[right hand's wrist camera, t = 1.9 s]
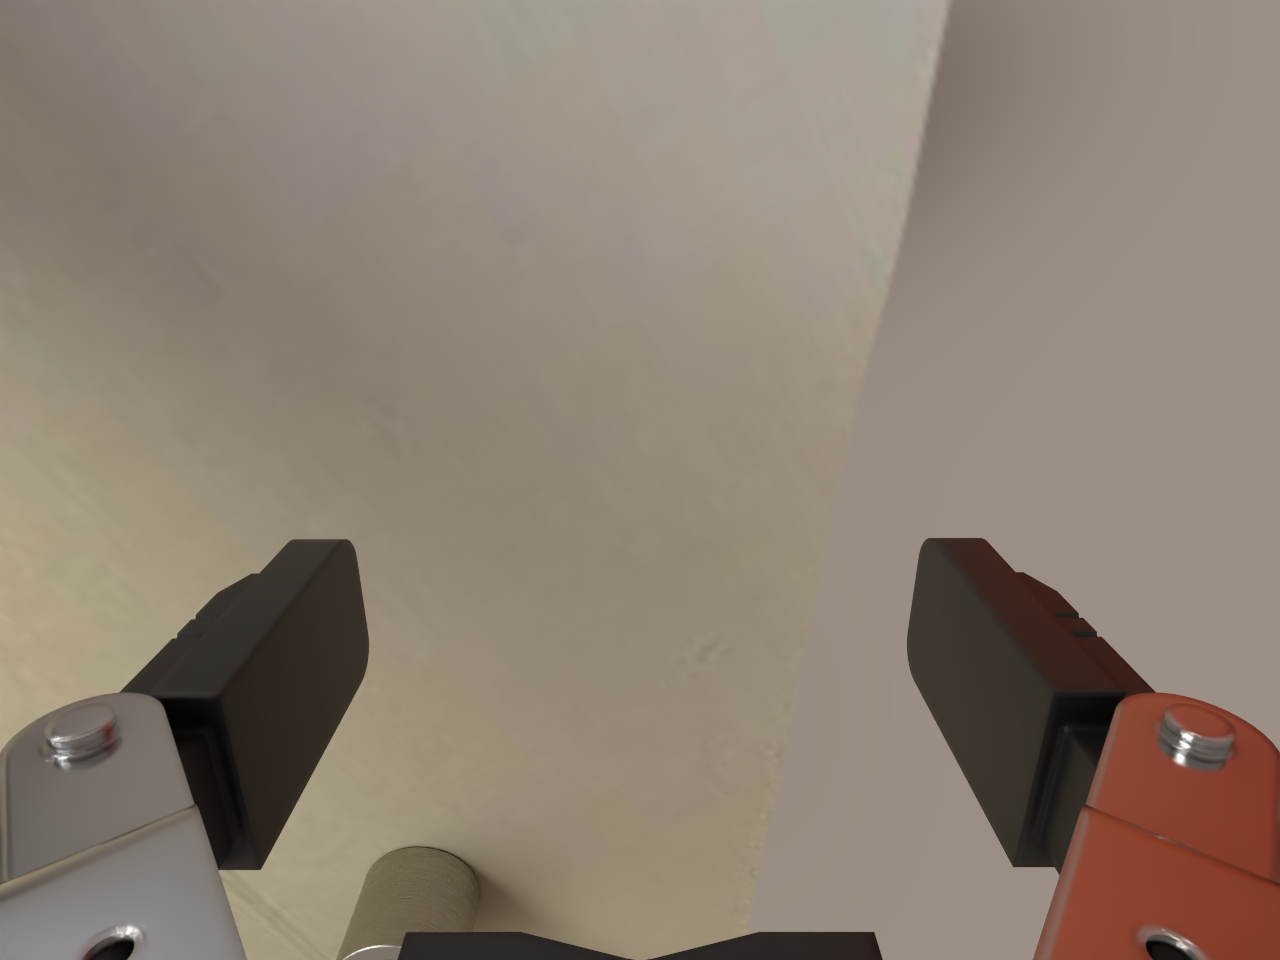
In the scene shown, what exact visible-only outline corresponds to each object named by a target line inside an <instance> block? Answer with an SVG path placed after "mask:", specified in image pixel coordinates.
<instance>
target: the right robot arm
mask: <svg viewBox="0 0 1280 960" xmlns="http://www.w3.org/2000/svg"><path fill="white" fill-rule="evenodd" d="M177 635H178V636H177V639H172V640H171V641H170V642H169V643H168V644H167V645H166V646H165V647H164V648H163V649H162V650H161V651H160V652H159V653H158V654H157V655H156V656H155V657H154V658H153V659H152V660H151V661H150V662H149V663H148V664H147V665H146V666H145V667H144V668H143V669H142V670H141V671H140V672H139V673H138V674H137V675H136V676H135V677H134V678H133V679H132V680H131V681H130V682H129V683H128V684H127V685H126V686H125V687H124V688H123V689H122V690H121V691H120V692H119V693H113V694H105V695H100V696H95V697H91V698H87V699H84V700H80V701H77V702H74V703H71V704H69V705H66V706H63V707H61V708H59V709H57V710H54V711H52V712H50V713H48V714H46V715H44V716H42V717H41V718H39V719H37V720H35V721H34V722H32V723H31V724H29V725H28V726H26V727H25V728H24V729H22V730H21V731H20V732H18V733H17V734H16V735H15V736H14V737H13V738H12V739H11V740H10V741H9V742H8V743H7V744H6V745H5V747H4V748H3V749H2V751H1V753H0V960H247V958H246V955H245V952H244V949H243V945H242V942H241V939H240V936H239V933H238V930H237V927H236V924H235V920H234V917H233V914H232V911H231V908H230V905H229V902H228V899H227V895H226V892H225V889H224V886H223V883H222V880H221V877H220V874H219V870H261V868H262V866H263V865H264V863H265V861H266V859H267V857H268V855H269V853H270V852H271V850H272V848H273V846H274V844H275V842H276V840H277V839H278V837H279V835H280V833H281V831H282V829H283V827H284V826H285V824H286V822H287V820H288V818H289V816H290V814H291V813H292V811H293V809H294V807H295V805H296V803H297V801H298V800H299V798H300V796H301V794H302V792H303V790H304V788H305V786H306V785H307V783H308V781H309V779H310V777H311V775H312V773H313V772H314V770H315V768H316V766H317V764H318V762H319V760H320V759H321V757H322V755H323V753H324V751H325V749H326V747H327V746H328V744H329V742H330V740H331V738H332V736H333V734H334V733H335V731H336V729H337V727H338V725H339V723H340V721H341V720H342V718H343V716H344V714H345V712H346V710H347V708H348V707H349V705H350V703H351V701H352V699H353V697H354V695H355V694H356V692H357V690H358V688H359V686H360V684H361V682H362V680H363V678H364V675H365V672H366V668H367V662H368V654H369V637H368V630H367V623H366V616H365V609H364V603H363V596H362V589H361V582H360V576H359V569H358V562H357V556H356V552H355V549H354V547H353V545H352V543H351V542H350V541H349V540H347V539H293V540H291V541H290V542H288V543H287V544H286V545H285V547H284V548H283V549H282V550H281V551H280V552H279V553H278V554H277V555H276V556H275V557H274V558H273V559H272V560H271V562H270V563H269V564H268V565H267V566H266V567H265V568H264V569H263V570H262V571H261V572H260V573H259V574H250V575H249V576H247V577H245V578H243V579H241V580H240V581H238V582H236V583H234V584H232V585H231V586H229V587H227V588H225V589H224V590H222V591H220V592H218V593H217V594H216V595H215V596H214V597H213V598H212V599H211V600H210V601H209V602H208V603H207V604H206V605H205V606H204V607H203V608H202V609H201V610H200V611H199V612H198V613H197V614H196V619H195V620H190V621H189V622H188V623H187V624H186V625H185V626H184V628H183V629H182V630H181V631H180V632H179V633H178V634H177ZM907 653H908V661H909V666H910V670H911V674H912V677H913V679H914V681H915V683H916V685H917V687H918V689H919V691H920V693H921V694H922V696H923V698H924V700H925V702H926V704H927V706H928V707H929V709H930V711H931V713H932V715H933V717H934V719H935V721H936V722H937V725H938V726H939V728H940V730H941V732H942V734H943V736H944V738H945V739H946V741H947V743H948V745H949V747H950V749H951V751H952V753H953V755H954V756H955V758H956V760H957V762H958V764H959V766H960V768H961V770H962V772H963V773H964V775H965V777H966V779H967V781H968V783H969V785H970V787H971V788H972V790H973V792H974V794H975V796H976V798H977V800H978V802H979V804H980V805H981V807H982V809H983V811H984V813H985V815H986V817H987V819H988V820H989V822H990V824H991V826H992V828H993V830H994V832H995V834H996V836H997V837H998V839H999V841H1000V843H1001V845H1002V847H1003V849H1004V851H1005V852H1006V854H1007V856H1008V858H1009V860H1010V862H1011V864H1012V866H1013V867H1055V868H1056V870H1057V872H1058V873H1059V875H1060V877H1059V880H1058V883H1057V886H1056V889H1055V892H1054V896H1053V899H1052V902H1051V905H1050V908H1049V911H1048V914H1047V917H1046V920H1045V924H1044V927H1043V930H1042V933H1041V936H1040V939H1039V942H1038V946H1037V949H1036V952H1035V955H1034V958H1033V960H1280V753H1279V751H1278V749H1277V748H1276V747H1275V745H1274V744H1273V743H1272V742H1271V741H1270V740H1269V739H1268V738H1267V737H1266V736H1265V735H1264V734H1263V733H1262V732H1260V731H1259V730H1258V729H1256V728H1255V727H1254V726H1252V725H1251V724H1249V723H1248V722H1246V721H1245V720H1243V719H1241V718H1239V717H1238V716H1236V715H1234V714H1232V713H1230V712H1228V711H1226V710H1223V709H1221V708H1219V707H1217V706H1214V705H1211V704H1209V703H1206V702H1203V701H1200V700H1196V699H1193V698H1189V697H1185V696H1180V695H1175V694H1167V693H1156V692H1155V691H1154V690H1153V689H1152V688H1151V687H1150V686H1149V685H1148V684H1147V683H1146V682H1145V681H1144V680H1143V679H1142V678H1141V677H1140V676H1139V675H1138V674H1137V673H1136V672H1135V671H1134V670H1133V669H1132V668H1131V667H1130V665H1129V664H1128V663H1127V662H1126V661H1125V660H1124V659H1123V658H1122V657H1121V656H1120V655H1119V654H1118V653H1117V652H1116V651H1115V650H1114V649H1113V648H1112V647H1111V646H1110V645H1109V644H1108V643H1107V642H1106V641H1105V640H1104V639H1103V638H1102V637H1097V632H1096V631H1095V630H1094V629H1093V628H1092V627H1091V626H1090V625H1089V624H1088V622H1086V620H1085V619H1084V618H1079V614H1078V612H1077V611H1076V610H1075V609H1074V608H1073V607H1072V606H1071V605H1070V604H1069V603H1068V602H1067V601H1066V600H1065V599H1064V598H1063V597H1062V596H1061V595H1060V594H1059V593H1058V592H1057V591H1056V590H1054V589H1052V588H1050V587H1048V586H1047V585H1045V584H1043V583H1041V582H1040V581H1038V580H1036V579H1034V578H1032V577H1031V576H1029V575H1027V574H1025V573H1024V572H1015V571H1014V570H1013V569H1012V568H1011V567H1010V566H1009V565H1008V564H1007V563H1006V561H1005V560H1004V559H1003V558H1002V557H1001V556H1000V555H999V554H998V553H997V552H996V551H995V549H994V548H993V547H992V546H991V545H990V544H989V543H988V542H987V541H986V540H985V539H982V538H928V539H926V540H925V541H924V543H923V545H922V547H921V550H920V554H919V559H918V566H917V573H916V580H915V586H914V593H913V600H912V607H911V614H910V621H909V628H908V636H907ZM397 960H632V959H626V958H622V957H618V956H614V955H610V954H606V953H602V952H598V951H594V950H590V949H586V948H582V947H578V946H574V945H570V944H566V943H562V942H558V941H554V940H550V939H546V938H542V937H538V936H534V935H530V934H526V933H523V932H406V933H405V937H404V940H403V943H402V946H401V950H400V953H399V956H398V959H397ZM648 960H883V959H882V956H881V953H880V950H879V946H878V943H877V940H876V937H875V933H874V932H758V933H754V934H750V935H746V936H742V937H738V938H734V939H730V940H726V941H722V942H718V943H714V944H710V945H706V946H702V947H698V948H694V949H690V950H686V951H682V952H678V953H674V954H670V955H666V956H662V957H658V958H654V959H648Z"/></svg>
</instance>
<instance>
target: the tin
mask: <svg viewBox="0 0 1280 960" xmlns="http://www.w3.org/2000/svg"><path fill="white" fill-rule="evenodd" d="M479 897H480V889H479V884H478V881H477V878H476V877H475V875H474V873H473V872H472V870H471V869H470V868H469V867H468V866H467V865H466V864H465V863H464V862H462V861H461V860H460V859H458V858H456V857H455V856H453V855H451V854H449V853H446V852H443V851H441V850H437V849H432V848H425V847H411V848H404V849H400V850H396V851H393V852H391V853H389V854H387V855H385V856H383V857H382V858H380V859H379V860H378V861H377V862H376V863H375V864H374V865H373V866H372V867H371V869H370V870H369V872H368V874H367V876H366V879H365V882H364V885H363V887H362V890H361V893H360V896H359V898H358V901H357V904H356V907H355V909H354V912H353V915H352V918H351V921H350V923H349V926H348V929H347V932H346V934H345V937H344V940H343V943H342V945H341V948H340V951H339V954H338V956H337V959H336V960H397V959H398V956H399V953H400V950H401V946H402V943H403V940H404V937H405V933H406V932H473V927H474V922H475V917H476V912H477V907H478V902H479Z"/></svg>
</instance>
